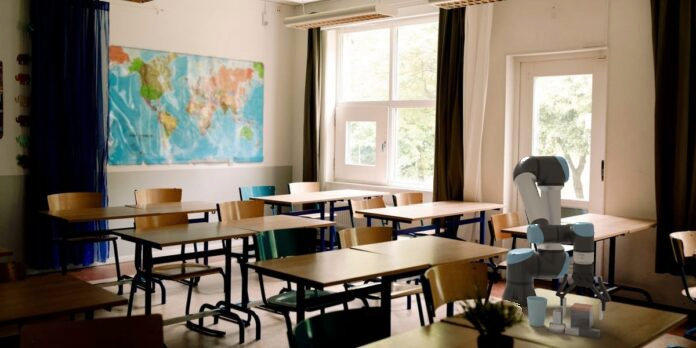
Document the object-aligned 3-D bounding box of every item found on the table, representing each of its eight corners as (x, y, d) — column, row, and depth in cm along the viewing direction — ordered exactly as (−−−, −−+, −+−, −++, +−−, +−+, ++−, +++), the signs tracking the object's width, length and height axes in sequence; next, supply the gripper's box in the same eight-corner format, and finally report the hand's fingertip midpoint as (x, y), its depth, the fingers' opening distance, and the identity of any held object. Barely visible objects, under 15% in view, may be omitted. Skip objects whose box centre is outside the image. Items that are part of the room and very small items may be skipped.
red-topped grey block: (570, 327, 262) (570, 306, 261) (574, 322, 268) (574, 302, 267) (589, 329, 258) (589, 309, 258) (593, 325, 264) (593, 305, 264)
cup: (525, 321, 270) (526, 295, 269) (545, 322, 268) (546, 296, 267) (527, 327, 262) (527, 300, 261) (547, 328, 261) (548, 301, 260)
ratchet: (600, 335, 251) (601, 314, 251) (597, 339, 246) (598, 318, 245) (551, 328, 260) (551, 307, 260) (547, 332, 255) (547, 311, 255)
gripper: (548, 261, 265) (547, 314, 266) (615, 266, 252) (614, 323, 253) (552, 258, 271) (552, 310, 272) (619, 263, 258) (618, 318, 259)
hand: (582, 316), depth 263 cm, fingers open, 13 cm apart
